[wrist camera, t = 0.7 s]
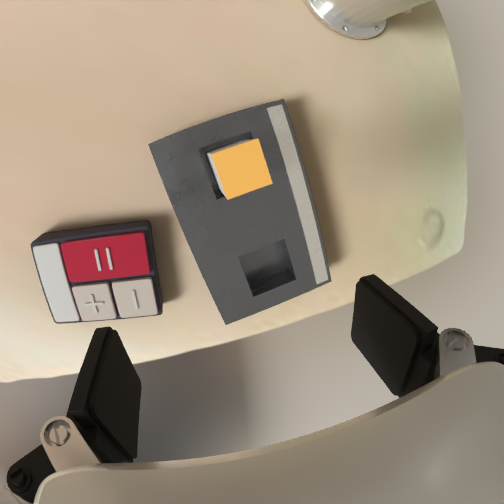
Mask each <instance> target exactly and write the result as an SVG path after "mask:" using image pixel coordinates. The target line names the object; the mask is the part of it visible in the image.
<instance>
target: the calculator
mask: <svg viewBox="0 0 504 504" xmlns="http://www.w3.org/2000/svg"><path fill="white" fill-rule="evenodd" d="M31 249H32V253H33V257H34V261H35V265H36V268H37V272H38V275H39V279H40V282H41V285H42V288H43V291H44V294H45V297H46V300H47V303H48V306H49V309H50V312H51V314H52V317H53V320H54V322H55V323H58V324H59V323H76V322H90V321H103V320H115V319H126V318H136V317H146V316H155V315H161V314H162V308H163V300H162V295H161V289H160V284H159V278H158V272H157V265H156V259H155V252H154V245H153V238H152V230H151V223H150V222H149V221H147V220H145V221H136V222H127V223H119V224H111V225H103V226H96V227H89V228H82V229H76V230H65V231H58V232H51V233H45V234H42V235H41V236H39V237H38V238H37V239H36V240H34V241H33V242H32V243H31Z"/></svg>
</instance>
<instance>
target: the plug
mask: <svg viewBox="0 0 504 504" xmlns="http://www.w3.org/2000/svg"><path fill="white" fill-rule="evenodd" d="M206 155H207V158H208V161H209V164H210V166H211V169H212V172H213V175H214V177H215V180H216V183H217V186H218V188H219V189H220V190H221V192H222V193H223V194H224V196H225V197H226V198H227V200H229V199H231V198H234V197H237V196H240V195H242V194H245V193H248V192H250V191H253V190H256V189H259V188H262V187H264V186H267V185H270V184H273V183H272V180H271V177H270V173H269V170H268V167H267V164H266V161H265V158H264V155H263V151H262V148H261V145H260V142H259V139H249V140H241V141H238V142H235V143H232V144H229V145H226V146H223V147H220V148H217V149H214V150H212V151H209V152H206Z"/></svg>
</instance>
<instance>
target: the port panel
mask: <svg viewBox="0 0 504 504" xmlns="http://www.w3.org/2000/svg"><path fill="white" fill-rule="evenodd" d="M249 139H259V142H260V145H261V148H262V151H263V155H264V158H265V161H266V164H267V167H268V170H269V173H270V177H271V180H272V183H273V184H270V185H267V186H264V187H262V188H259V189H256V190H253V191H250V192H248V193H245V194H242V195H240V196H237V197H234V198H231V199H229V200H227V198H226V197H225V196H224V194H223V193H222V192H221V190H220V189H219V188H218V186H217V183H216V180H215V177H214V175H213V172H212V169H211V166H210V164H209V161H208V158H207V155H206V152H209V151H212V150H214V149H217V148H220V147H223V146H226V145H229V144H232V143H235V142H238V141H241V140H249ZM149 147H150V150H151V153H152V155H153V158H154V161H155V163H156V166H157V168H158V171H159V174H160V176H161V179H162V181H163V184H164V186H165V189H166V191H167V194H168V196H169V199H170V201H171V204H172V206H173V209H174V211H175V213H176V216H177V218H178V221H179V223H180V225H181V228H182V230H183V232H184V235H185V237H186V239H187V242H188V244H189V246H190V249H191V251H192V253H193V255H194V258H195V260H196V262H197V264H198V267H199V269H200V271H201V273H202V276H203V278H204V280H205V282H206V284H207V286H208V289H209V291H210V293H211V295H212V297H213V299H214V301H215V304H216V306H217V308H218V310H219V312H220V314H221V316H222V318H223V320H224V322H225V324H226V325H227V324H230V323H232V322H235V321H237V320H240V319H243V318H245V317H248V316H250V315H253V314H255V313H258V312H260V311H263V310H265V309H268V308H270V307H273V306H275V305H277V304H280V303H282V302H285V301H287V300H289V299H292V298H294V297H297V296H299V295H301V294H304V293H306V292H308V291H310V290H313V289H315V288H317V287H320V286H322V285H324V284H326V283H329V282H331V276H330V271H329V266H328V262H327V257H326V252H325V248H324V243H323V239H322V234H321V230H320V226H319V222H318V218H317V213H316V209H315V205H314V201H313V197H312V194H311V190H310V186H309V182H308V178H307V175H306V171H305V168H304V164H303V160H302V157H301V153H300V150H299V147H298V143H297V140H296V137H295V133H294V130H293V127H292V124H291V120H290V117H289V114H288V111H287V108H286V105H285V102H284V99H282V100H278V101H274V102H270V103H266V104H262V105H259V106H255V107H251V108H248V109H244V110H241V111H238V112H234V113H231V114H228V115H225V116H222V117H219V118H216V119H213V120H210V121H207V122H204V123H201V124H198V125H196V126H193V127H190V128H187V129H185V130H182V131H180V132H177V133H174V134H172V135H169V136H167V137H164V138H162V139H160V140H157V141H155V142H153V143H150V144H149Z"/></svg>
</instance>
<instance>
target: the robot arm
mask: <svg viewBox="0 0 504 504" xmlns="http://www.w3.org/2000/svg"><path fill="white" fill-rule="evenodd" d="M305 1H306V4H307V5H308V7H309V8H310V10H311V11H312V12H313V14H314V15H315V16H316V17H317V18H318V19H319V20H320V21H321V22H322V23H323V24H325V25H326V26H327V27H329V28H330V29H332V30H333V31H335V32H337V33H339V34H341V35H344V36H346V37H349V38H353V39H369V38H372V37H375V36H376V35H378V34H380V33H381V32H382V31H383V30H384V28H385V26H386V21H387V18H389V17H391V16H394V15H396V14H398V13H407V14H409V13H411V12H412V8H413V7H416V6H418V5H421V4H424V3H427V2H429V1H432V0H305ZM437 330H438V327H437V326H436V325H435V324H433V323H432V322H431V321H430V320H429V319H428V318H427V317H425V316H424V315H423V314H422V313H421V312H420V311H418V310H417V309H416V308H415V307H414V306H413V305H411V304H410V303H409V302H408V301H406V300H405V299H404V298H403V297H402V296H401V295H399V294H398V293H397V292H396V291H394V290H393V289H392V288H391V287H390V286H388V285H387V284H386V283H385V282H383V281H382V280H381V279H380V278H378V277H377V276H376V275H374V274H372V275H368V276H364V277H361V278H360V280H359V282H357V284H356V292H355V303H354V313H353V322H352V330H351V338H352V341H353V343H354V344H355V345H356V346H357V348H358V349H359V350H360V351H361V353H362V354H363V355H364V357H365V358H366V359H367V361H368V362H369V363H370V364H371V366H372V367H373V368H374V370H375V371H376V372H377V374H378V375H379V376H380V378H381V379H382V380H383V382H384V383H385V384H386V386H387V387H388V388H389V389H390V391H391V392H392V393H393V394H394V395H398V397H399V399H397V400H395V401H392V402H390V403H388V404H386V405H384V406H382V407H379V408H377V409H375V410H373V411H370V412H368V413H366V414H363V415H361V416H358V417H356V418H353V419H351V420H348V421H346V422H343V423H340V424H338V425H335V426H332V427H329V428H326V429H324V430H320V431H317V432H314V433H311V434H308V435H305V436H301V437H298V438H295V439H291V440H288V441H284V442H280V443H276V444H272V445H268V446H264V447H260V448H255V449H250V450H245V451H241V452H235V453H230V454H224V455H218V456H211V457H204V458H196V459H187V460H175V461H162V462H146V463H133V458H136V457H137V443H138V424H139V409H140V398H141V381H140V378H139V376H138V375H137V373H136V371H135V369H134V367H133V365H132V363H131V360H130V358H129V356H128V354H127V352H126V350H125V348H124V346H123V343H122V341H121V339H120V337H119V335H118V332H117V331H116V330H113V329H112V328H111V327H103V328H97V329H96V330H95V332H94V334H93V337H92V339H91V342H90V345H89V348H88V350H87V353H86V356H85V359H84V362H83V364H82V367H81V369H80V372H79V375H78V378H77V382H76V385H75V388H74V391H73V394H72V398H71V401H70V405H69V408H68V412H67V416H66V417H65V416H56V417H53V418H51V419H50V420H48V421H47V422H46V423H45V424H44V426H43V427H42V430H41V434H40V438H41V442H42V444H41V445H40V446H38V447H37V448H36V449H34V450H33V451H31V452H30V453H29V454H27V455H26V456H24V457H23V458H22V459H20V460H19V461H17V462H16V463H15V464H13V465H12V466H11V467H10V469H9V471H8V474H7V483H8V487H7V488H6V487H5V486H3V487H2V489H1V490H0V504H504V349H499V348H491V347H484V346H477V345H474V344H473V341H472V338H471V337H470V335H469V334H467V333H466V332H465V331H463V330H461V329H457V328H448V329H445V330H444V331H442V332H441V334H439V333H437Z"/></svg>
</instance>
